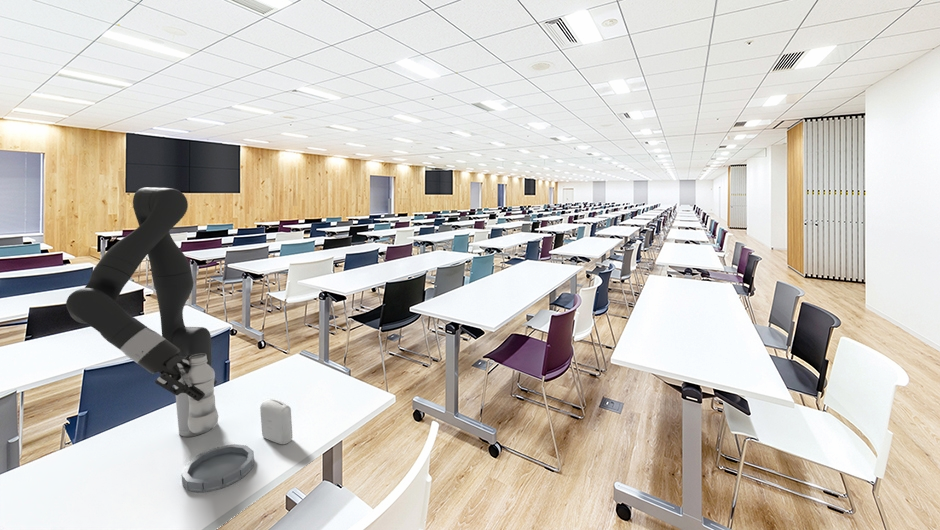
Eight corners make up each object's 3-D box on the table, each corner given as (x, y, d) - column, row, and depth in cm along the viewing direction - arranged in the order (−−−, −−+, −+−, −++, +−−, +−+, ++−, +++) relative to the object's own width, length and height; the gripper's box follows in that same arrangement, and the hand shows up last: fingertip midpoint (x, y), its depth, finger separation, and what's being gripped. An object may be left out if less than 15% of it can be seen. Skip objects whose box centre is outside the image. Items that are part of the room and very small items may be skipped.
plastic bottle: (181, 435, 98) (174, 360, 95) (204, 420, 105) (198, 350, 102) (203, 438, 97) (196, 362, 94) (225, 423, 104) (219, 352, 100)
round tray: (215, 450, 112) (214, 442, 112) (266, 455, 111) (266, 447, 110) (166, 488, 97) (165, 479, 96) (224, 495, 95) (224, 486, 94)
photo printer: (259, 437, 119) (257, 399, 117) (272, 430, 123) (270, 393, 121) (282, 447, 114) (280, 407, 113) (294, 439, 118) (293, 401, 117)
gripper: (144, 350, 89) (206, 394, 93) (177, 330, 102) (230, 369, 107) (120, 373, 88) (183, 416, 93) (156, 350, 102) (210, 389, 106)
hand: (208, 391), depth 100 cm, fingers closed on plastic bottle, 6 cm apart
